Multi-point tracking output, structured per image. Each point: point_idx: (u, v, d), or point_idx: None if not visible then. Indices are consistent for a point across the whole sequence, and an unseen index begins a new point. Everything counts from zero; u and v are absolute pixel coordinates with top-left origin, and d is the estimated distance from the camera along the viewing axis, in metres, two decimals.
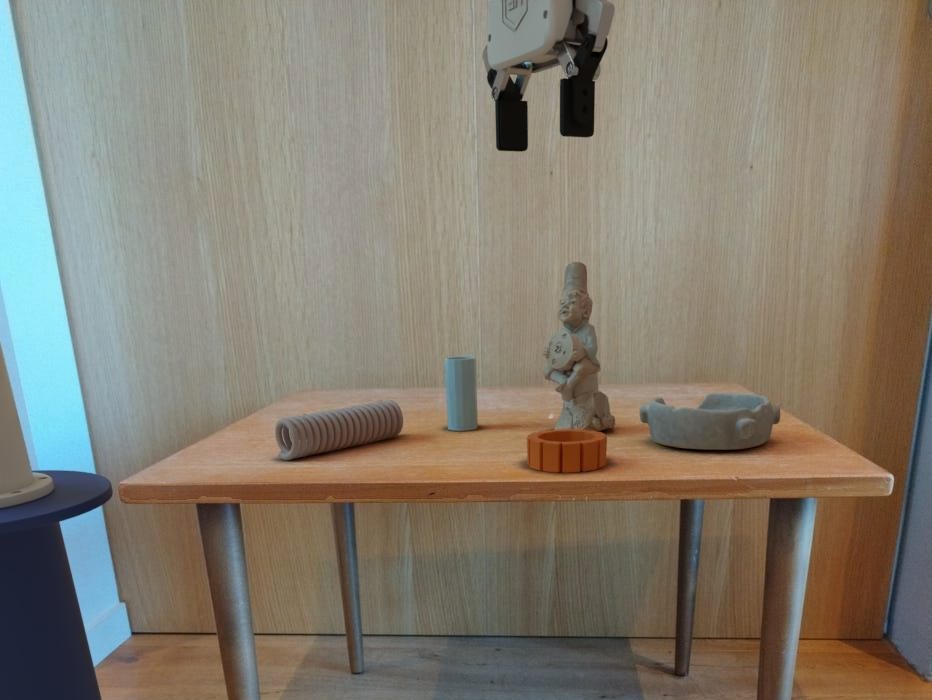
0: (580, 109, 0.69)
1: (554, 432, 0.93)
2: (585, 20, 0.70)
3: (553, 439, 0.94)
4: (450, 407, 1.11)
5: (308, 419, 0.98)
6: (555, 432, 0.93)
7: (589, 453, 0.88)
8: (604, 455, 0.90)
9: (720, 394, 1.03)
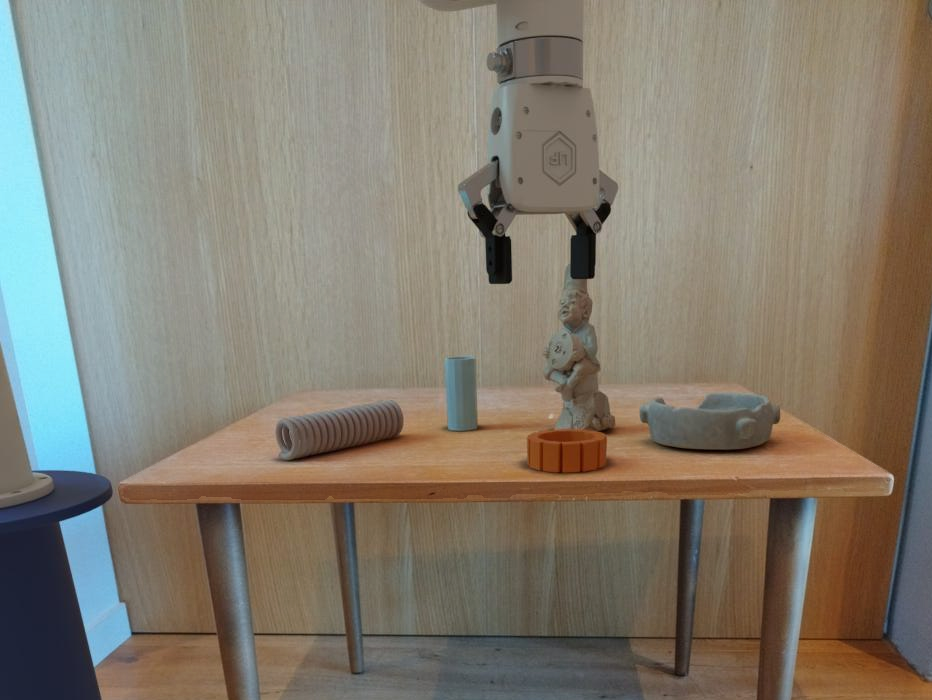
0: None
1: (554, 432, 0.93)
2: None
3: (553, 439, 0.94)
4: (450, 407, 1.11)
5: (308, 419, 0.98)
6: (555, 432, 0.93)
7: (589, 453, 0.88)
8: (604, 455, 0.90)
9: (720, 394, 1.03)
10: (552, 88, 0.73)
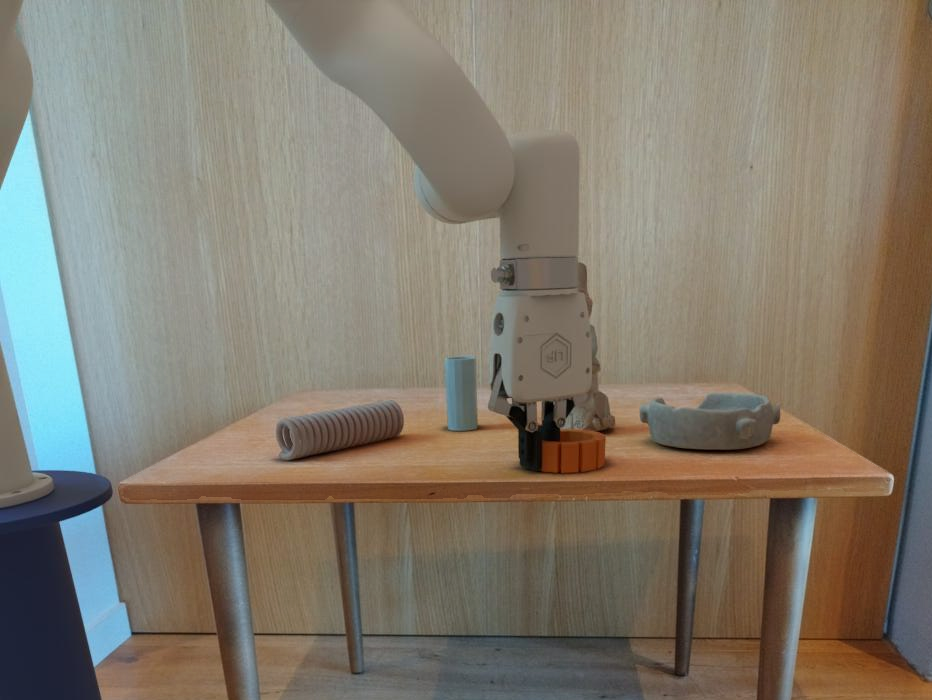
0: None
1: None
2: None
3: None
4: (450, 407, 1.11)
5: (309, 419, 0.98)
6: None
7: (588, 453, 0.88)
8: (603, 455, 0.90)
9: (720, 394, 1.03)
10: (550, 297, 0.81)
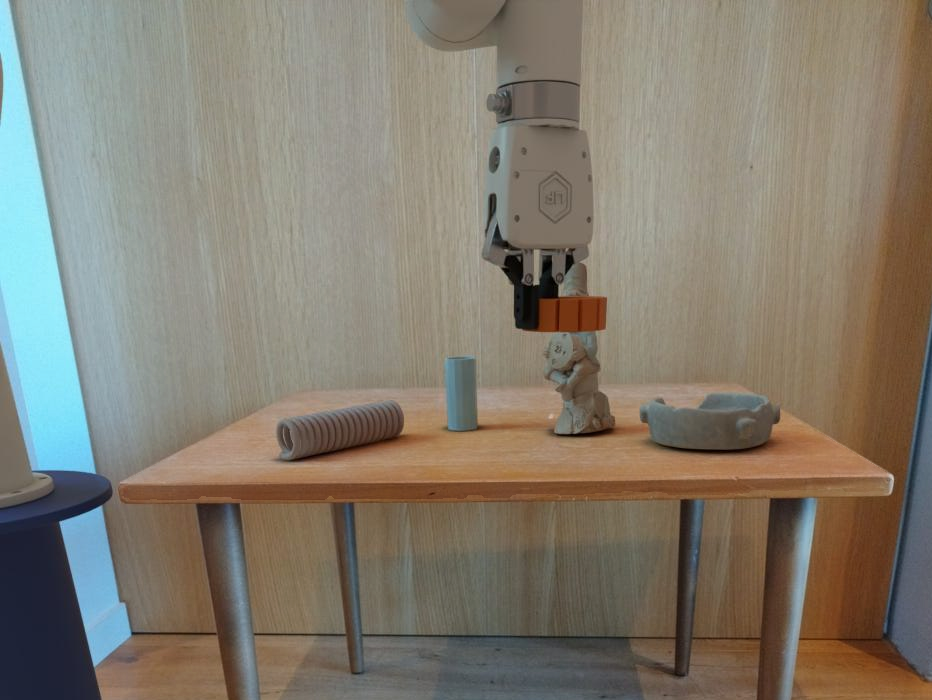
0: None
1: None
2: None
3: None
4: (450, 407, 1.11)
5: (309, 419, 0.98)
6: None
7: (588, 311, 0.82)
8: (604, 317, 0.84)
9: (720, 394, 1.03)
10: (549, 130, 0.75)
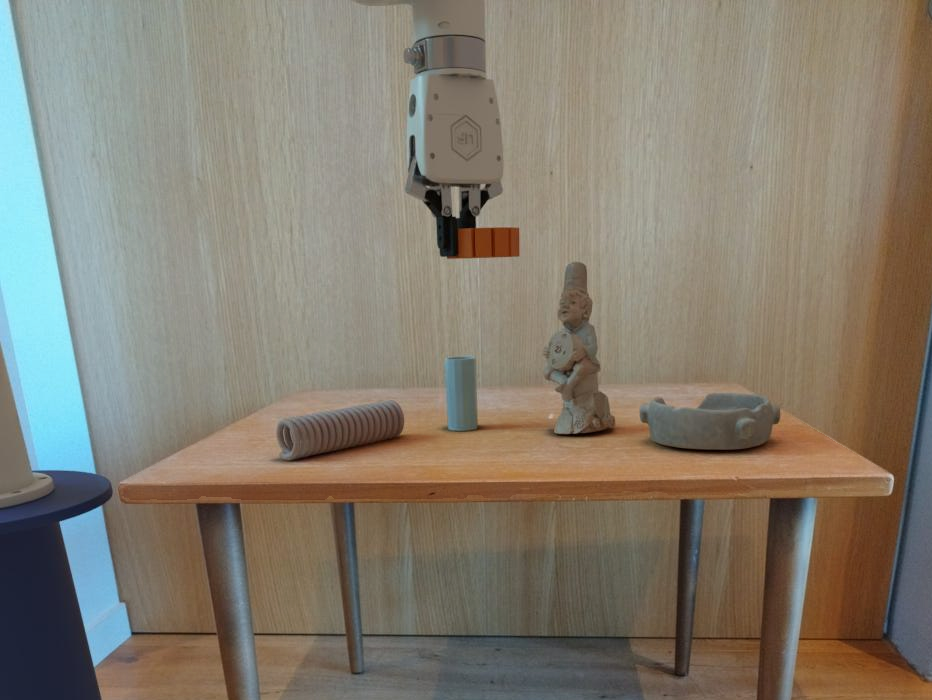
0: None
1: None
2: None
3: None
4: (450, 407, 1.11)
5: (309, 419, 0.98)
6: None
7: (500, 239, 0.94)
8: (516, 245, 0.97)
9: (720, 394, 1.03)
10: (458, 79, 0.88)
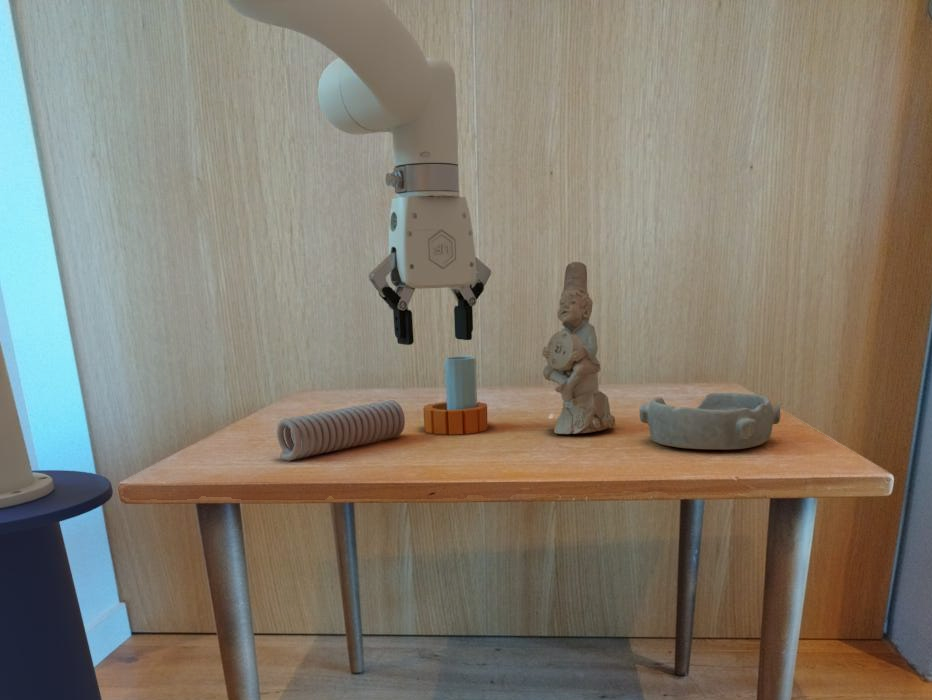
0: (471, 324, 1.09)
1: None
2: None
3: None
4: (450, 407, 1.11)
5: (310, 419, 0.98)
6: None
7: (470, 419, 1.09)
8: (484, 421, 1.11)
9: (720, 394, 1.03)
10: (434, 199, 0.98)
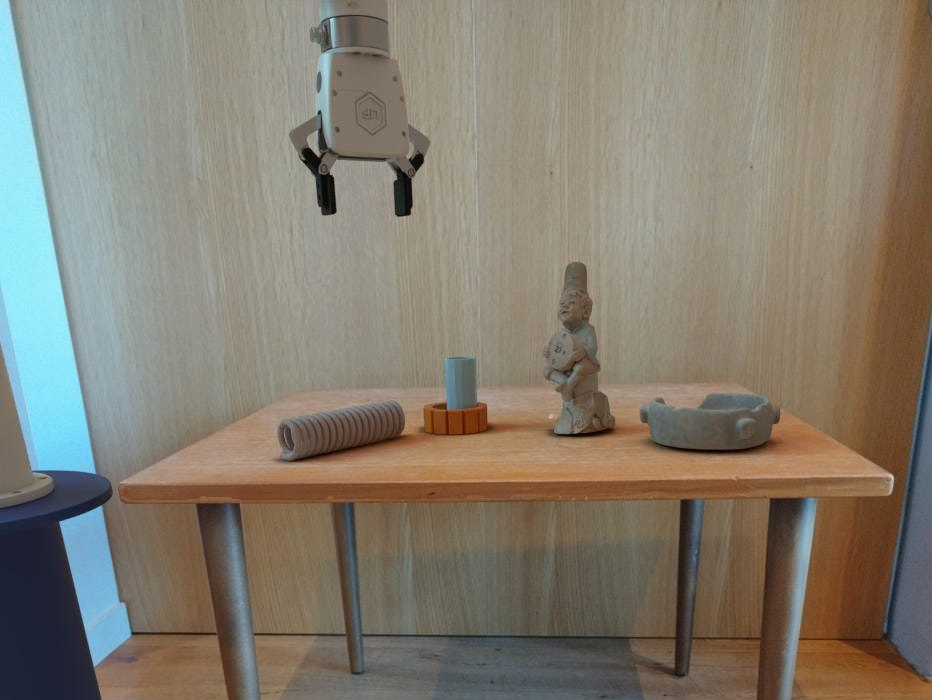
0: (411, 199, 1.03)
1: None
2: None
3: None
4: (450, 407, 1.11)
5: (310, 419, 0.97)
6: None
7: (470, 419, 1.09)
8: (484, 421, 1.11)
9: (720, 394, 1.03)
10: (361, 57, 0.93)
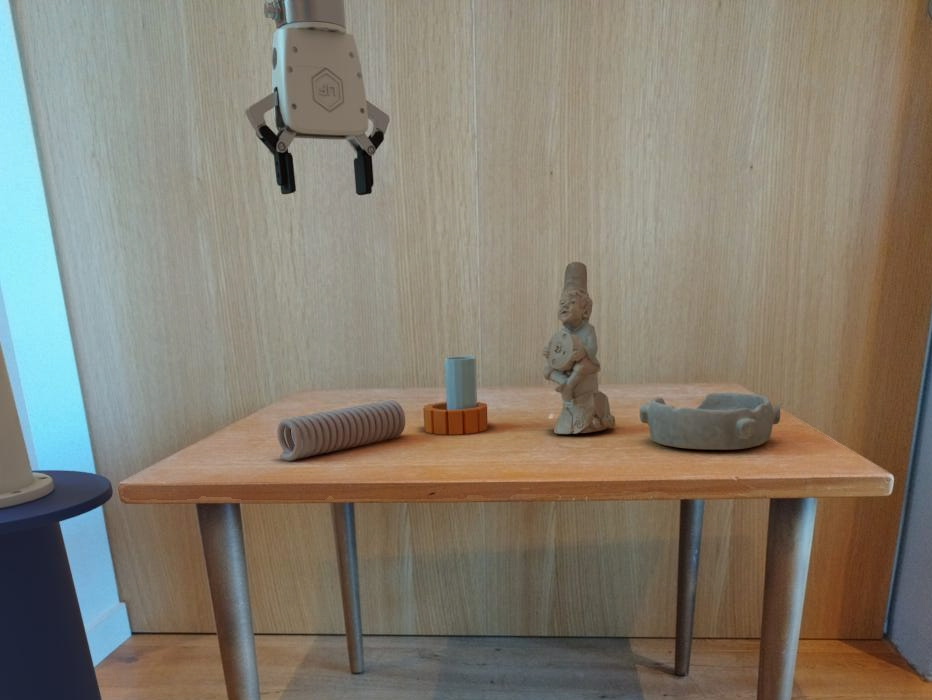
0: None
1: None
2: None
3: None
4: (450, 407, 1.11)
5: (311, 419, 0.97)
6: None
7: (470, 419, 1.09)
8: (484, 421, 1.11)
9: (720, 394, 1.03)
10: (317, 32, 0.93)
